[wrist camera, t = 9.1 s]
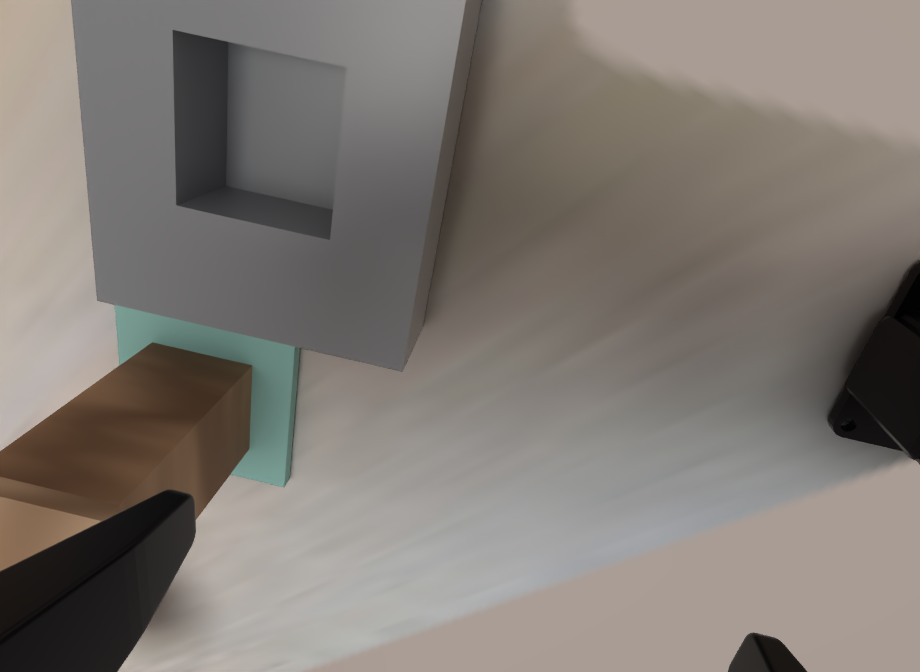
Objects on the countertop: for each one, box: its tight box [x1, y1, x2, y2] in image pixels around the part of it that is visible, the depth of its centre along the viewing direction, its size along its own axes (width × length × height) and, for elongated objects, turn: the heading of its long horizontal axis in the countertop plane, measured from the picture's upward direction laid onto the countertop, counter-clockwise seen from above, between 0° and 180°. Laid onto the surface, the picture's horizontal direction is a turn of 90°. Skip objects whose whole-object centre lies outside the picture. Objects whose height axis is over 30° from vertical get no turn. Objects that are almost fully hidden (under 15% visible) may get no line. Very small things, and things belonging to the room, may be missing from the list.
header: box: [71, 0, 482, 372], centre depth 18 cm, size 10×12×4 cm
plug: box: [0, 342, 252, 571], centre depth 20 cm, size 4×4×9 cm
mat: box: [115, 305, 300, 487], centre depth 24 cm, size 7×7×1 cm
